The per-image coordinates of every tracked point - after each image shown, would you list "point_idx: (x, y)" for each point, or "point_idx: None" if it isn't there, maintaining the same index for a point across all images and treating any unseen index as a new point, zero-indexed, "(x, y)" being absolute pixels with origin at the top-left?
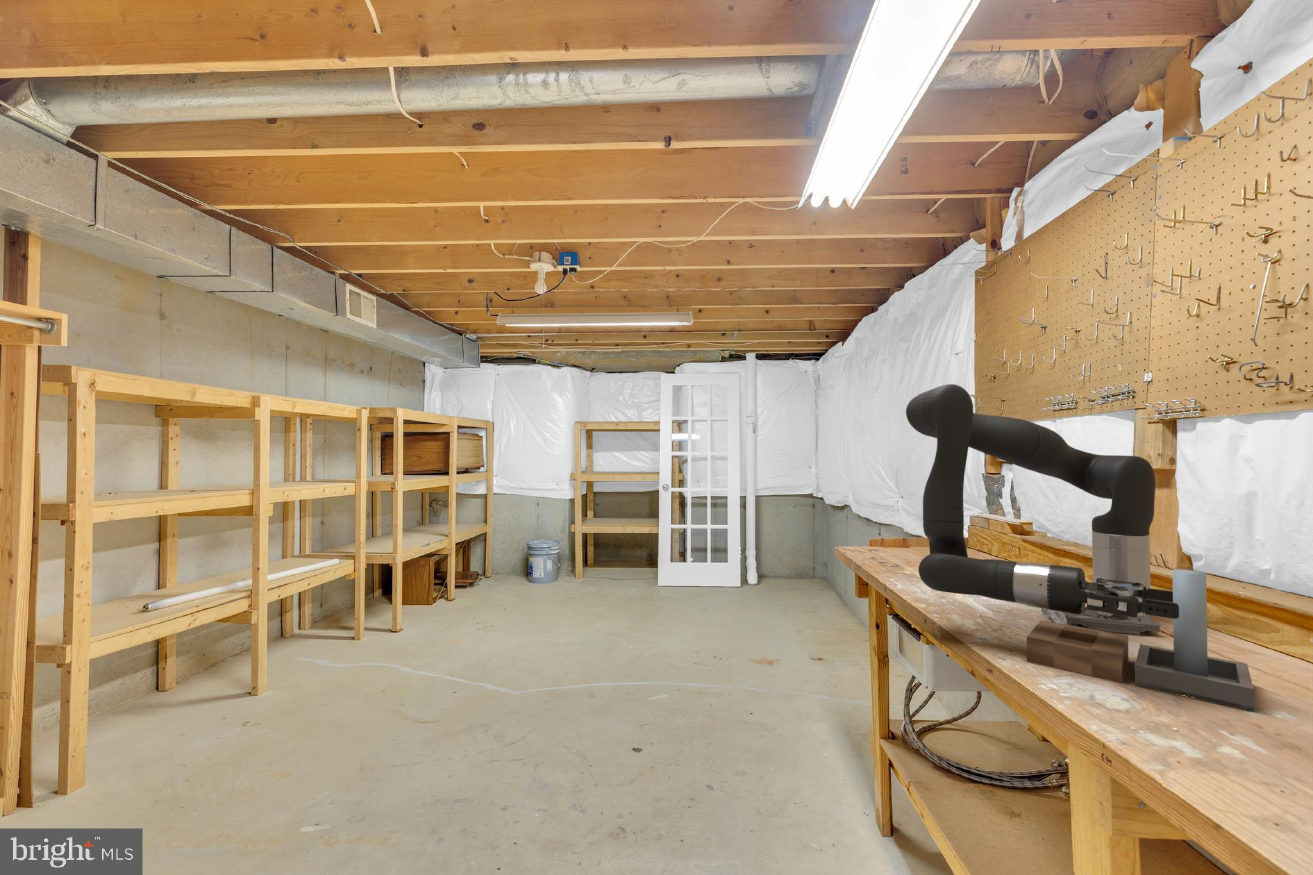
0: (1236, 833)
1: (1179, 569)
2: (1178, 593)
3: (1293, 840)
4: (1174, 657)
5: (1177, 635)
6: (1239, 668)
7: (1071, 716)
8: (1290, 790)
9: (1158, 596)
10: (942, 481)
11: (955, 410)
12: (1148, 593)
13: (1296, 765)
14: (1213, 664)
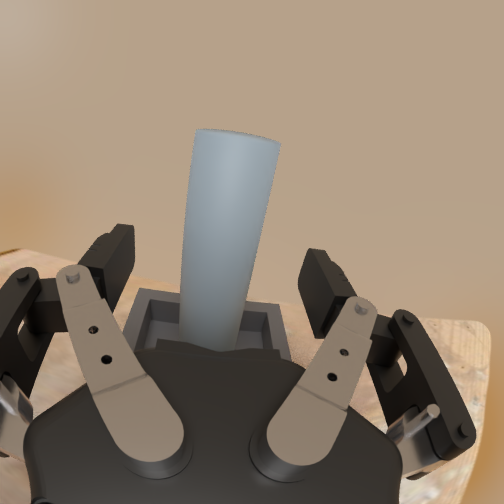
0: (489, 337)
1: (206, 133)
2: (260, 218)
3: (471, 322)
4: None
5: (232, 327)
6: (177, 300)
7: (476, 447)
8: (429, 322)
9: (117, 272)
10: None
11: None
12: (106, 285)
13: (387, 316)
14: (144, 326)
